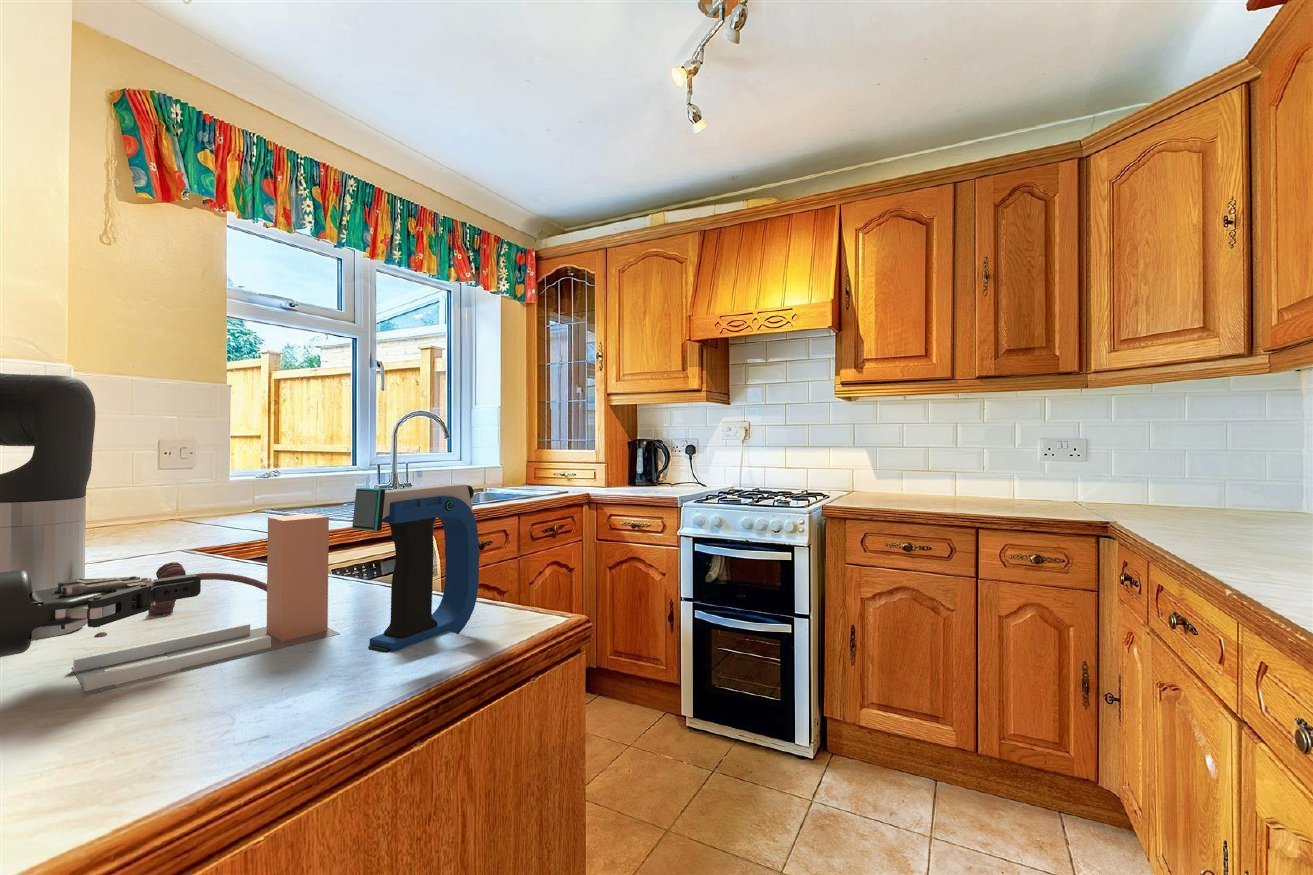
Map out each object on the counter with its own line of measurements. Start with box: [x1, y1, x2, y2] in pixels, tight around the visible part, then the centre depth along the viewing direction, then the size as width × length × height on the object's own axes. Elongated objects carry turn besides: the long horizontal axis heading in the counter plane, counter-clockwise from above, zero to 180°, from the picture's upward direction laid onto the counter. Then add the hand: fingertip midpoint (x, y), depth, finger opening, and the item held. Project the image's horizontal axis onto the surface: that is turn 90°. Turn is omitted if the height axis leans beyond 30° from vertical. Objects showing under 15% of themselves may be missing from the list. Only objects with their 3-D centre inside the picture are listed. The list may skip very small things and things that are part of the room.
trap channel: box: [71, 622, 341, 696], centre depth 64 cm, size 10×22×3 cm, turn 141°
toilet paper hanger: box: [93, 561, 267, 638], centre depth 80 cm, size 22×8×14 cm
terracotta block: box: [266, 513, 330, 641], centre depth 71 cm, size 5×5×14 cm
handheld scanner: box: [351, 483, 480, 653], centre depth 70 cm, size 5×16×20 cm, turn 155°
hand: (198, 584), depth 63 cm, fingers closed
